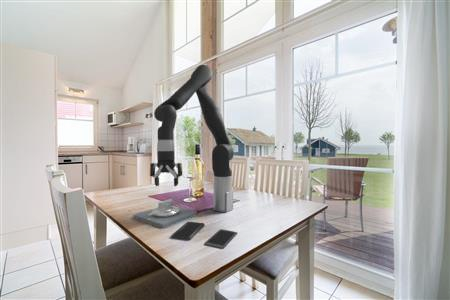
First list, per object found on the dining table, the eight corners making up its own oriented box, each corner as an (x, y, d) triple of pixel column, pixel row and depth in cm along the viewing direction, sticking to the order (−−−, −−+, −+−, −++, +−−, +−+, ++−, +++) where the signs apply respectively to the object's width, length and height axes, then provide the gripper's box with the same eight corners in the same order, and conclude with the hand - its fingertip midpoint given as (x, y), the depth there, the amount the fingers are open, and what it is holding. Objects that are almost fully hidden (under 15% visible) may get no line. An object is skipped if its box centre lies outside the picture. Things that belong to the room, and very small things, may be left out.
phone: (205, 223, 90) (190, 238, 76) (205, 226, 90) (190, 241, 76) (187, 221, 92) (169, 235, 78) (187, 224, 92) (169, 239, 78)
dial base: (196, 214, 103) (196, 211, 103) (163, 228, 86) (163, 224, 86) (167, 207, 114) (167, 204, 114) (133, 218, 97) (133, 214, 97)
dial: (166, 207, 108) (166, 196, 108) (184, 211, 102) (184, 200, 102) (139, 216, 95) (139, 204, 95) (158, 221, 89) (158, 208, 89)
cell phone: (203, 245, 73) (203, 243, 73) (220, 230, 86) (220, 228, 86) (223, 250, 70) (223, 248, 70) (238, 233, 83) (238, 231, 83)
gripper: (183, 149, 101) (184, 184, 101) (154, 149, 103) (155, 184, 103) (178, 150, 93) (178, 187, 94) (146, 150, 95) (147, 187, 96)
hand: (166, 185), depth 98 cm, fingers open, 8 cm apart
